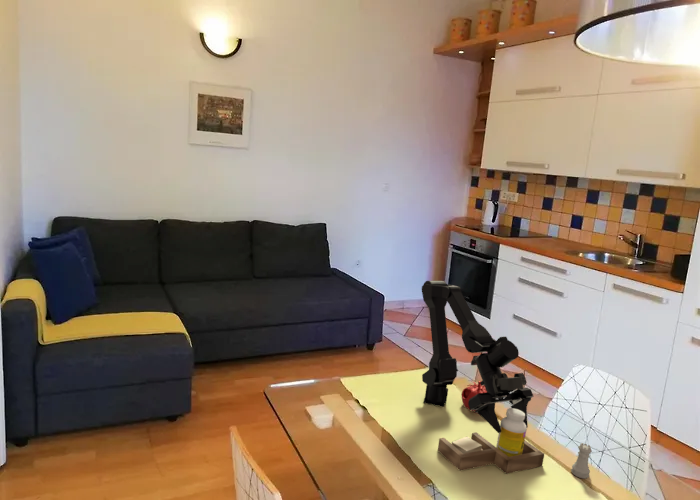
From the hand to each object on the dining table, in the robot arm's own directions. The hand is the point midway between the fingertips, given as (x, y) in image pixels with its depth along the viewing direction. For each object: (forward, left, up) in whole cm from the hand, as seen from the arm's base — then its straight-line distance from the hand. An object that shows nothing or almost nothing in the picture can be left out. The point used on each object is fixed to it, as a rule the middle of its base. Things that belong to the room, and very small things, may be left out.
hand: (513, 430), depth 138 cm
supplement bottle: (0, 0, -8) cm, 8 cm away
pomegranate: (-9, +27, -8) cm, 30 cm away
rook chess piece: (+18, 0, -8) cm, 20 cm away
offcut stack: (-11, -4, -8) cm, 14 cm away
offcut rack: (-5, -3, -8) cm, 10 cm away
